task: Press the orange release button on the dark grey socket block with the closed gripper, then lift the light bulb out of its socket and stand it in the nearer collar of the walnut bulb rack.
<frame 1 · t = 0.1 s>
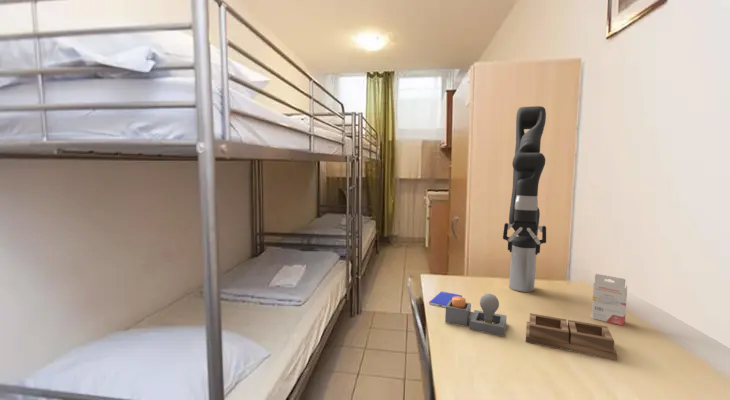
hand: (523, 253, 131), 17 cm above the table, tool pointing down, fingers open, 8 cm apart
release button: (458, 304, 113), point 5 cm above the table, slide at 0.0 cm
bulb socket block: (488, 326, 109), on the table
light bulb: (488, 326, 109), resting in bulb socket block
bulb rack: (567, 341, 101), on the table
ink cartridge box: (607, 320, 116), on the table
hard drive: (445, 303, 130), on the table
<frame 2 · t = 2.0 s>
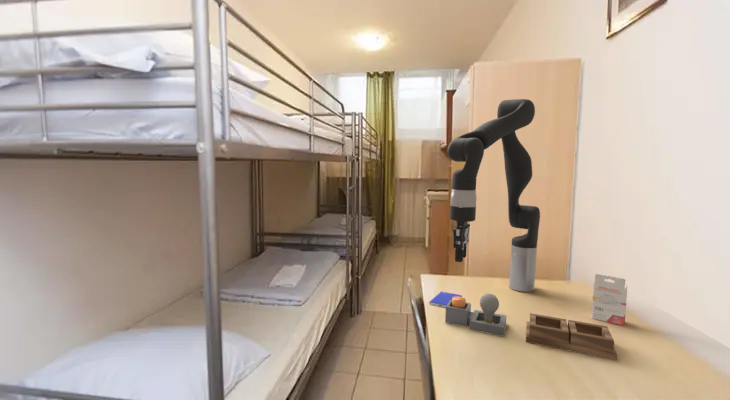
hand: (460, 259, 111), 20 cm above the table, tool pointing down, fingers open, 5 cm apart
nothing on the table moved.
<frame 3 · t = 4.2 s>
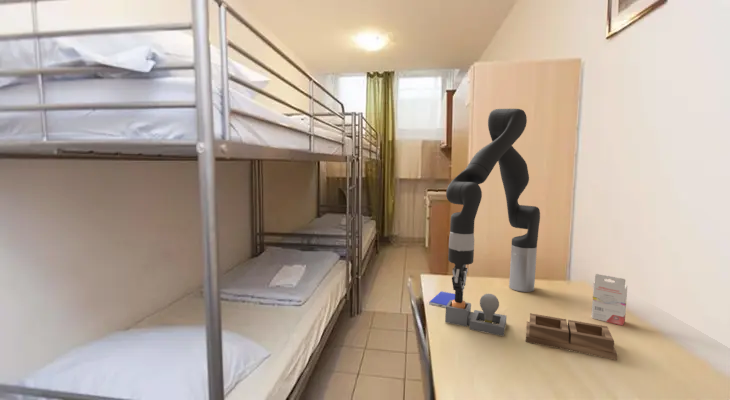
hand: (458, 301, 112), 6 cm above the table, tool pointing down, fingers closed
release button: (458, 307, 113), point 4 cm above the table, slide at 1.0 cm, touching gripper
everything else where it was.
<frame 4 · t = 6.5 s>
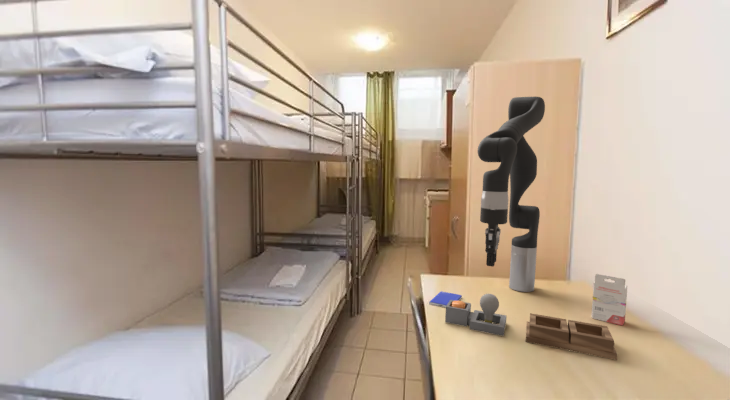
hand: (491, 263, 108), 19 cm above the table, tool pointing down, fingers open, 4 cm apart
release button: (458, 308, 113), point 4 cm above the table, slide at 1.4 cm
everything else where it was.
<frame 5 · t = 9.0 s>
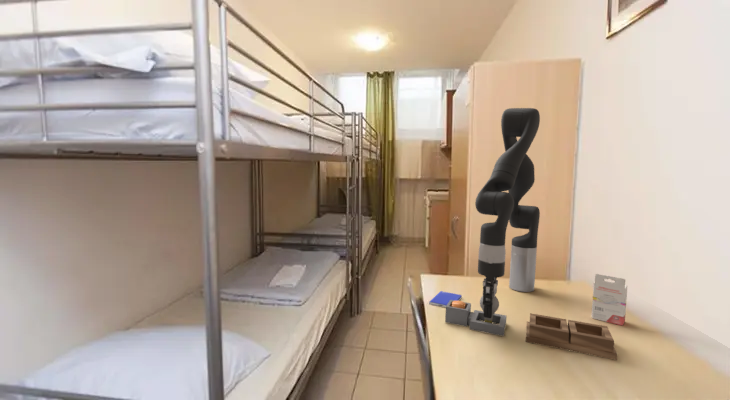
hand: (488, 313, 109), 4 cm above the table, tool pointing down, fingers closed on light bulb, 5 cm apart
light bulb: (488, 326, 109), resting in bulb socket block, touching gripper
everything else where it was.
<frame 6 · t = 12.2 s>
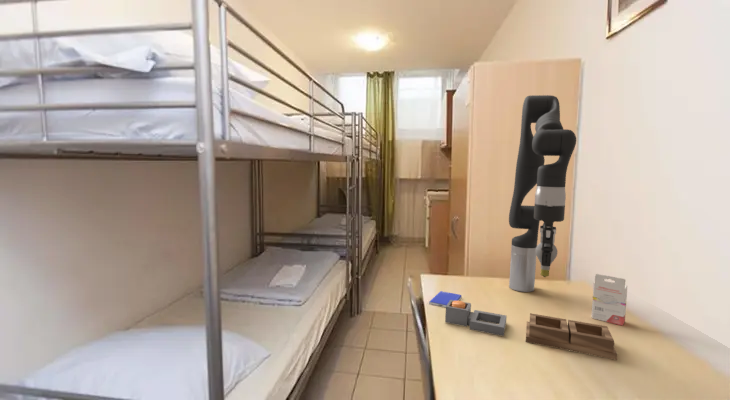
hand: (545, 262, 101), 21 cm above the table, tool pointing down, fingers closed on light bulb, 5 cm apart
light bulb: (544, 277, 102), point 17 cm above the table, touching gripper
everything else where it was.
when the fingers open (6 cm above the table, at t = 15.7 s): light bulb stays where it is, resting on bulb rack.
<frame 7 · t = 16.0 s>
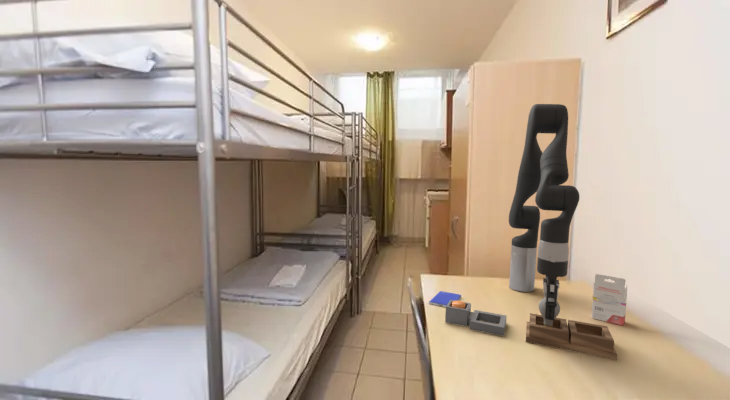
hand: (548, 313, 102), 7 cm above the table, tool pointing down, fingers open, 7 cm apart
light bulb: (547, 332, 103), point 1 cm above the table, touching bulb rack
everything else where it was.
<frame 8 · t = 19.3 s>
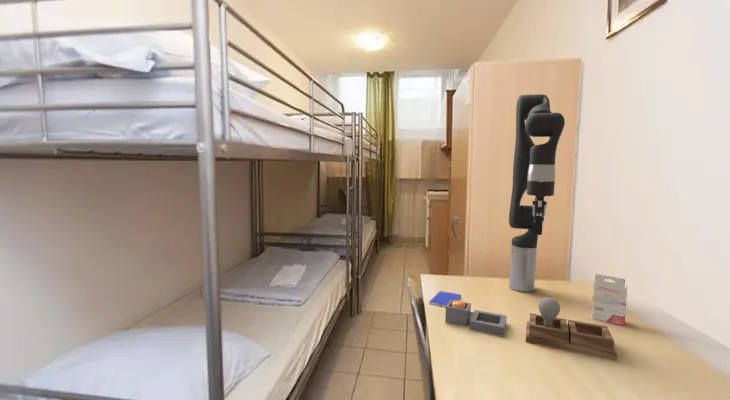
hand: (537, 232, 112), 28 cm above the table, tool pointing down, fingers open, 8 cm apart
nothing on the table moved.
at the end: release button slide at 1.4 cm; light bulb 0.3 cm from the target spot on the bulb rack, point 1.3 cm above the bulb rack's base; light bulb tilted 0° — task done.
